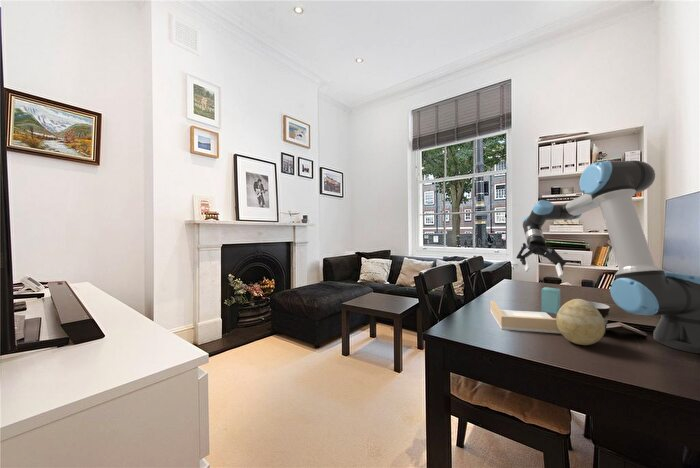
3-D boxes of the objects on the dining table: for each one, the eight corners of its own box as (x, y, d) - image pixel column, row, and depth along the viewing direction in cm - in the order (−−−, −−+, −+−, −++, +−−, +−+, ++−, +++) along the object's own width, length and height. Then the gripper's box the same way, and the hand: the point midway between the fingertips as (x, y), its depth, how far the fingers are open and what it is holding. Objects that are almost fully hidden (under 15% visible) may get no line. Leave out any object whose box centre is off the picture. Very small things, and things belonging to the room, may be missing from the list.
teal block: (560, 310, 129) (560, 289, 128) (557, 314, 125) (557, 291, 124) (544, 308, 133) (544, 287, 133) (541, 311, 129) (541, 289, 128)
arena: (568, 334, 103) (568, 320, 103) (501, 329, 109) (501, 316, 109) (545, 314, 124) (545, 303, 124) (490, 311, 130) (490, 300, 130)
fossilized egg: (573, 351, 90) (573, 305, 89) (547, 335, 102) (548, 294, 102) (615, 352, 89) (616, 304, 88) (585, 335, 101) (585, 294, 101)
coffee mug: (597, 327, 108) (597, 301, 108) (616, 336, 100) (616, 308, 99) (564, 327, 110) (564, 301, 109) (580, 336, 101) (580, 308, 101)
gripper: (559, 249, 142) (570, 283, 128) (505, 241, 147) (511, 272, 133) (567, 239, 137) (580, 273, 122) (511, 230, 142) (517, 262, 127)
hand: (544, 272), depth 127 cm, fingers open, 13 cm apart
